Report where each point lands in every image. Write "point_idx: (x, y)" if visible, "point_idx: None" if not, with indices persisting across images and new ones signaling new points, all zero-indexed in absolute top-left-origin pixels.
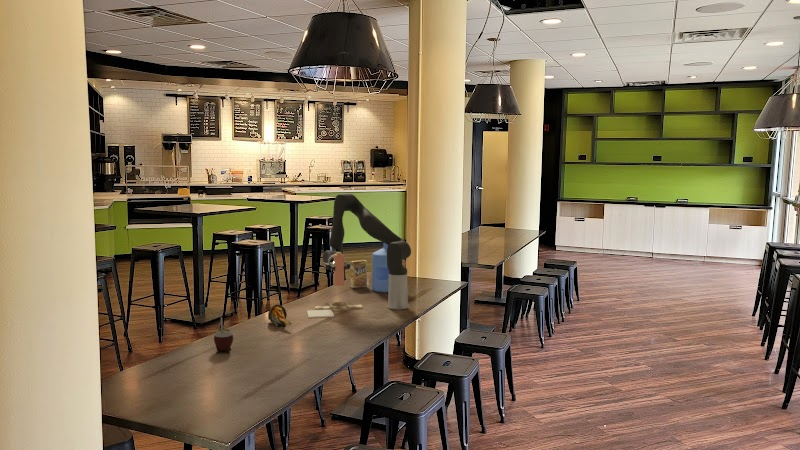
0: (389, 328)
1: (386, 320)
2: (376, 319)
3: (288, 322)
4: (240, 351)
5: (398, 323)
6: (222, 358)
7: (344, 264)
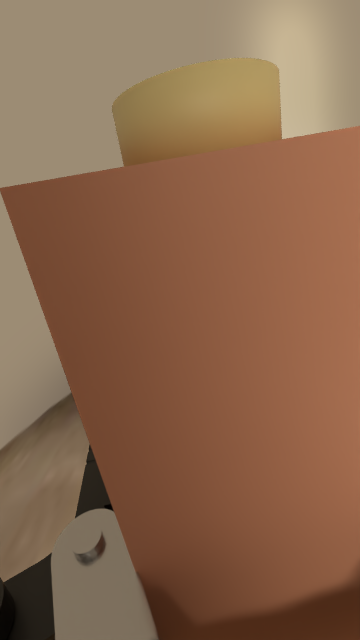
0: (72, 397)
1: (41, 463)
2: (72, 471)
3: None
4: None
5: (22, 437)
6: None
7: (101, 516)
